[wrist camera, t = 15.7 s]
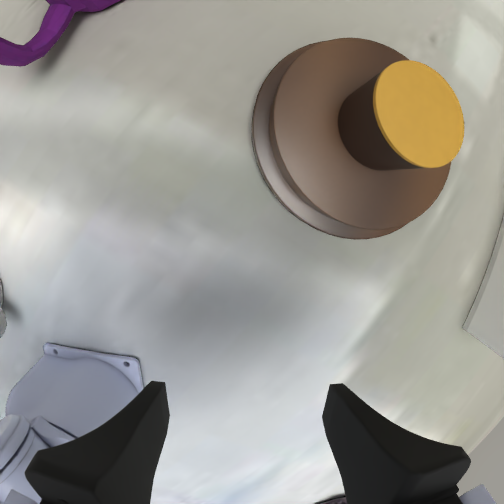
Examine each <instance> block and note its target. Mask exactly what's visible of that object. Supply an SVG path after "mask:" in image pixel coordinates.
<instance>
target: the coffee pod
mask: <svg viewBox="0 0 504 504" xmlns="http://www.w3.org/2000/svg"><path fill="white" fill-rule="evenodd" d="M338 127H339V132H340V136H341V139H342V141H343V144H344V146H345V147H346V149H347V150H348V152H349V153H350V154H351V155H352V156H353V157H354V159H356V160H357V161H358V162H359V163H361V164H362V165H364V166H366V167H368V168H371V169H374V170H380V171H385V170H401V169H421V168H437V167H441V166H444V165H446V164H448V163H449V162H450V161H452V160H453V159H454V158H455V156H456V155H457V153H458V152H459V150H460V148H461V145H462V142H463V137H464V119H463V114H462V110H461V107H460V104H459V101H458V99H457V97H456V95H455V93H454V91H453V90H452V88H451V87H450V85H449V84H448V83H447V82H446V80H445V79H444V78H443V77H442V76H441V75H440V74H439V73H437V72H436V71H435V70H433V69H432V68H430V67H429V66H427V65H425V64H422V63H420V62H416V61H410V60H404V61H398V62H395V63H393V64H391V65H390V66H388V67H387V68H385V69H384V70H383V71H381V72H380V73H378V74H377V75H376V76H374V77H373V78H372V79H370V80H369V81H368V82H366V83H365V84H364V85H362V86H361V87H360V88H358V89H357V90H356V91H354V92H353V93H352V94H350V95H349V96H348V97H347V98H346V99H345V101H344V102H343V104H342V106H341V108H340V111H339V117H338Z"/></svg>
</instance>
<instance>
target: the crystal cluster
mask: <svg viewBox="0 0 504 504" xmlns="http://www.w3.org/2000/svg"><path fill="white" fill-rule="evenodd" d="M321 504H347V500H346V497H344V498H337V499H333V500H330V501H328V502H324V503H321Z"/></svg>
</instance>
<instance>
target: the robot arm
mask: <svg viewBox="0 0 504 504" xmlns="http://www.w3.org/2000/svg"><path fill="white" fill-rule="evenodd" d="M43 350H44V353H45V355H44V356H43V357H42V358H41V359H40V360H39V361H38V362H37V363H36V364H35V365H34V366H33V367H32V368H31V369H30V370H29V371H28V372H27V373H26V374H25V375H24V376H23V377H22V378H21V380H20V381H19V382H18V383H17V384H16V385H15V386H14V387H13V389H12V390H11V392H10V394H9V397H8V399H7V404H6V412H5V413H6V417H4V418H3V419H1V420H0V504H150V499H151V492H152V485H153V479H154V475H155V471H156V467H157V464H158V461H159V458H160V454H161V451H162V448H163V445H164V441H165V438H166V435H167V429H168V423H169V417H170V414H169V407H168V401H167V393H166V386H165V382H157V381H151V382H150V383H149V384H148V385H147V386H146V387H145V388H144V387H143V381H142V375H141V369H140V363H139V361H138V360H137V359H136V358H133V357H125V356H118V355H111V354H104V353H98V352H92V351H86V350H80V349H75V348H69V347H64V346H59V345H54V344H50V343H46V344H44V345H43ZM56 350H57V351H58V352H57V351H56ZM125 361H126V362H128V363H129V364H127V363H126V362H125ZM322 419H323V424H324V428H325V433H326V436H327V439H328V442H329V444H330V447H331V450H332V452H333V455H334V458H335V460H336V463H337V466H338V468H339V471H340V474H341V477H342V481H343V486H344V490H345V495H346V500H347V504H496V502H495V501H494V499H493V498H492V496H491V495H490V494H489V492H488V491H487V489H486V488H485V486H484V485H483V484H481V485H479V486H477V487H475V488H473V489H471V490H470V491H468V492H466V493H464V494H463V495H462V496H460V497H458V495H457V494H456V493H457V492H458V491H459V488H458V487H457V485H456V484H457V483H458V482H459V480H460V479H461V478H462V476H463V475H464V474H465V473H466V471H467V470H468V468H469V466H470V463H471V460H470V458H469V456H468V455H467V454H466V452H465V451H464V450H463V448H462V447H459V446H454V445H449V444H444V443H440V442H436V441H433V440H430V439H427V438H424V437H421V436H419V435H416V434H414V433H412V432H409V431H407V430H405V429H403V428H402V427H400V426H398V425H396V424H394V423H393V422H391V421H389V420H388V419H386V418H385V417H383V416H382V415H381V414H379V413H378V412H376V411H375V410H374V409H372V408H371V407H370V406H369V405H367V404H366V403H365V402H364V401H363V400H361V399H360V398H359V397H358V396H357V395H356V394H354V393H353V392H352V391H351V390H350V389H349V388H348V387H346V386H345V385H344V384H343V383H341V384H330V386H329V390H328V395H327V399H326V403H325V407H324V411H323V415H322Z"/></svg>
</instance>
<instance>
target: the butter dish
mask: <svg viewBox="0 0 504 504" xmlns="http://www.w3.org/2000/svg"><path fill="white" fill-rule="evenodd" d="M462 328H463V329H464V330H466V331H467V332H469V333H470V334H471V335H473V336H474V337H475V338H477V339H478V340H479V341H481V342H482V343H484V344H485V345H486V346H488V347H489V348H490V349H492V350H493V351H494V352H496V353H497V354H498V355H499V356H501V357H502V358H503V359H504V215H503V219H502V223H501V227H500V230H499V234H498V237H497V241H496V244H495V247H494V250H493V253H492V256H491V259H490V262H489V265H488V268H487V271H486V273H485V276H484V279H483V281H482V284H481V286H480V289H479V291H478V294H477V296H476V299H475V301H474V303H473V306H472V308H471V310H470V312H469V314H468V317H467V319H466V321H465V323H464V325H463V327H462Z"/></svg>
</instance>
